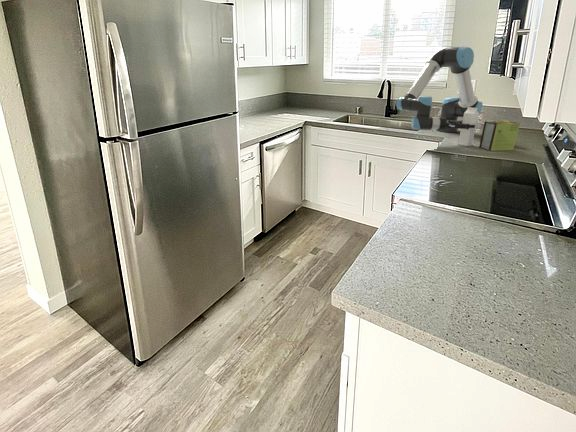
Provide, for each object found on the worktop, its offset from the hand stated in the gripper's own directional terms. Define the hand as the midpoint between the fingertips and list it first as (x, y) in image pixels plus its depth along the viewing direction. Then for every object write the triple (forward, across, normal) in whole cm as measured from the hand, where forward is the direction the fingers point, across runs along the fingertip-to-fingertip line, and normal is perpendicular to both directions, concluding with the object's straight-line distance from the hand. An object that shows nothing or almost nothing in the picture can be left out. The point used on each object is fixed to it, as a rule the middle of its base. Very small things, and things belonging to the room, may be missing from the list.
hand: (477, 125), depth 222 cm
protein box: (+10, +8, -12) cm, 18 cm away
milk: (-5, 0, -12) cm, 13 cm away
